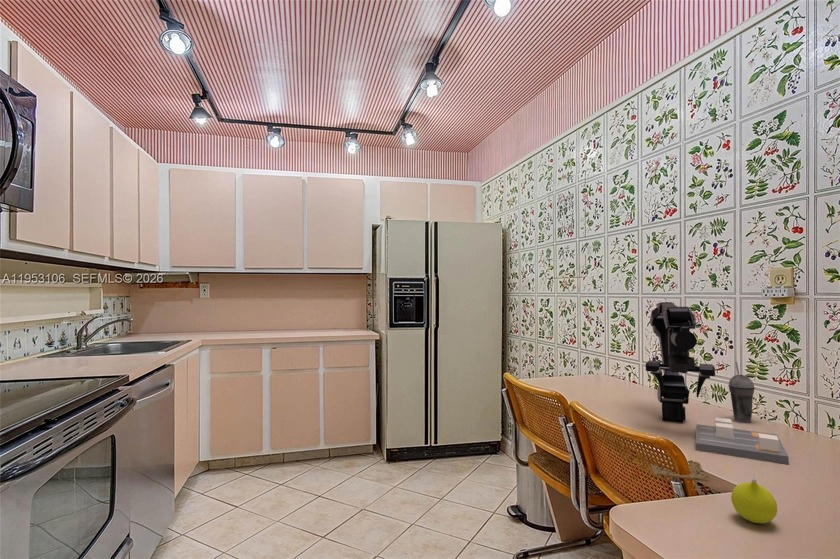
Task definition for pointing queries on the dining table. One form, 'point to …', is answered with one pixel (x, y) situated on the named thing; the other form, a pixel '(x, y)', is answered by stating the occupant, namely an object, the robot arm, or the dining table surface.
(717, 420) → the slider far
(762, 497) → the ornament
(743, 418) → the beverage cup
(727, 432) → the slider middle
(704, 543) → the dining table surface
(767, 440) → the slider near
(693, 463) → the speckled tan slab
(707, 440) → the switch panel
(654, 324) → the robot arm
